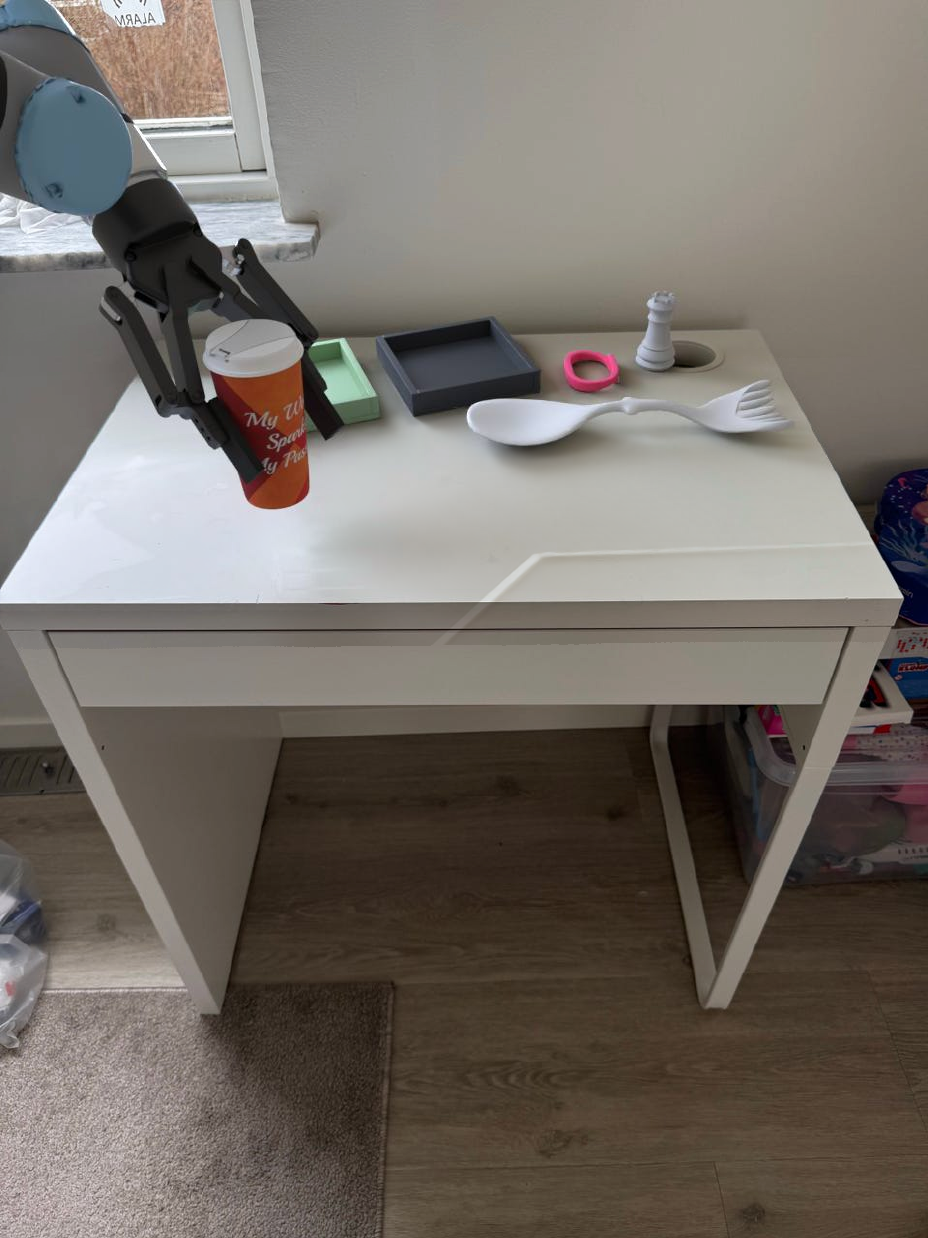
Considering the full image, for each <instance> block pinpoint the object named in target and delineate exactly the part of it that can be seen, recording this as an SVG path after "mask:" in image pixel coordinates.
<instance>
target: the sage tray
mask: <svg viewBox="0 0 928 1238" xmlns="http://www.w3.org/2000/svg"><path fill="white" fill-rule="evenodd" d="M308 354H309V357H310V359H311V360H312V362H313V363H314V365H315V367H316V368H317V370H318V371H319V373H320V374H321V376H322V377H323V379H324V380H325V382H326V385H327V388H328V389H327V390H326V391H325V392H324V393H325V394H326V396H327V397H328V399H329V400H330V402H331V404H332V405H333V407H334V408H335V410H336V411H337V413H338V414H339V416H340V417H341V419H342V420H343V422H344V423H345V426H346V425H350V424H355V423H360V422H366V421H370V420H377V419H380V418H381V417H380V415H381V414H380V405H379V396H378V395H377V392H376V391H375V389H374V388H373V385H372V384H371V382H370V380H369V378H368V377H367V375H366V373H365V371H364V369H363V368H362V366H361V364H360V362H359V361H358V359H357V357H356V355H355V353H354V352H353V350H352V349H351V347H350V345H349V343H348V341H347V340H346V338H345V337H341V338H335V339H329V340H324V341H323V340H322V341H318V342H314V344H313V345H312V346H311V347H310V349H309V351H308ZM304 410H305V409H304ZM305 423H306V433H308V432H309V433H310V432H314V431H319V430H318V429H317V427H316V426H315V424H314V423H313V421H312V420H311V418H310V417H309V415H308V414H307V412H306V411H305Z"/></svg>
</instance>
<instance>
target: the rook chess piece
mask: <svg viewBox="0 0 928 1238" xmlns="http://www.w3.org/2000/svg"><path fill="white" fill-rule="evenodd" d="M668 292H669V291H667V290H663V291H662V294H661V293H660V291H659V290H657V291H655V292H654V293H651V295H650V299H649V300H648V301H647V302H646V305H647V307H648V309H649V314H648V315H647V319H648V325H647V329H646V332H645V336H644V338H643V339H642V341H641V343H640V344H639V345H638V348H636V349H637V350H636V353H637V354H636V356H635V361H636V363H637V365H638V367H640V368H642V369H643V370H645V371H650V372H664V371H667V370H668V369H670V368H672V366H674V364H675V361H676V360H675V356H676V350H675V347H674V346H673V341H672V339H671V326H672V325H671V324H672V322H673V320H674V316H673V312H674V310H676V308H677V307H678V303H677V302H676V300H675V298H676V296H675V294H674V293H673V292H670V293H669V295H668Z"/></svg>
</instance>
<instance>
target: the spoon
mask: <svg viewBox="0 0 928 1238" xmlns="http://www.w3.org/2000/svg"><path fill="white" fill-rule="evenodd" d="M772 384H773V383H772V380H771V379H762V380H758V381H755V382H753V383H750V384H748V385H747V386H744V387H742V388H740V389H737V390H735V391H733V392H729V393H727V394H723V395H721V396H718V397H716V398H713V399H711V400H710V401H708V402H706V403H705V404H703V405H701V406H697V407H693V406H688V405H685V404H682V403H679V402H676V401H672V400H667V399H643V398H642V399H641V398H635V397H632V396H625V397H623V398H622V400H616V401H608V402H603V403H595V404H577V403H567V402H561V401H552V400H545V399H526V398H525V399H524V398H505V399H493V400H486V401H481V402H478V403H475V404H473V405H470V407H468V409H467V413H466V421H467V425H468V427H469V428H470V430H471V431H472V432H474V433H475V434H476V435H478V436H480V437H482V438H484V439H487V440H488V441H491V442H495V443H497V444H503V445H508V446H518V447H519V446H520V447H527V446H539V445H544V444H548V443H552V442H553V443H554V442H555V441H558V440H560V439H563V438H565V437H567V436H569V435H571V434H572V433H574V432H575V431H576V430H578V429H579V428H581V427H582V426H584V425H586V424H587V423H588V422H589V421H591V420H593V419H594V418H597V417H599V416H602V415H605V414H609V413H610V414H611V413H624V414H625V415H628V416H635V415H638V414H639V413H644V412H667V413H671V414H674V415H678V416H680V417H683V418H685V419H686V420H689V421H692V422H693V423H695V424H697V425H699V426H702V427H704V428H706V429H708V430H712V431H716V432H718V433H719V432H720V433H734V434H736V433H739V434H740V433H757V432H758V433H762V432H778V431H784V430H787V429H790V428H791V427H793V425H794V420H792V419H788V418H787V417H785V416H783V413H782V412H774V411H775V410H776V409H777V406H775V405H767V404H769V403H771V402H772V401H774V397H773V396H769V395H771V394H772V392H773V390H772V389H768V388H770V387H771V386H772ZM765 405H767V406H765ZM772 412H773V413H772Z"/></svg>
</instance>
